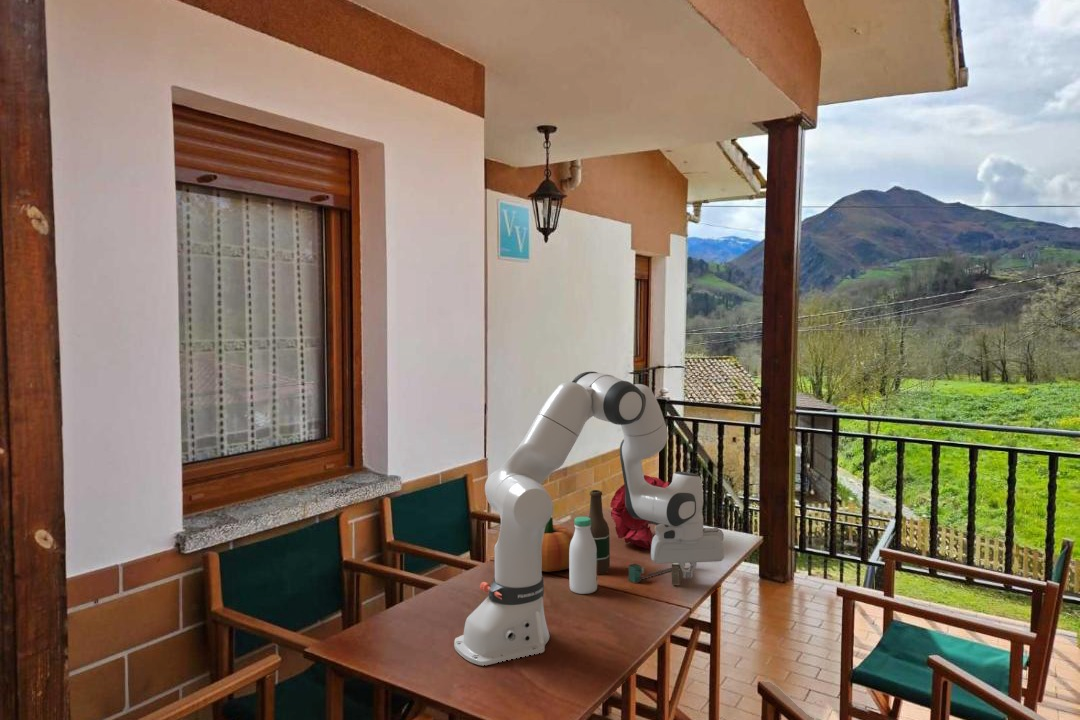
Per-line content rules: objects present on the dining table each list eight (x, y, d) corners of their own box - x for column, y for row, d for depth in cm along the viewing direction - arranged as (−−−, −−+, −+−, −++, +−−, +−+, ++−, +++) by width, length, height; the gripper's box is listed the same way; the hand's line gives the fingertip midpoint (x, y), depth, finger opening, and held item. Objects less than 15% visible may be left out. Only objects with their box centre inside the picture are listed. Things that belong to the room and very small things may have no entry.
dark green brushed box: (635, 583, 191) (635, 568, 191) (628, 580, 193) (628, 565, 193) (643, 580, 193) (643, 565, 193) (637, 578, 195) (637, 562, 195)
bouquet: (690, 559, 228) (620, 505, 242) (722, 506, 219) (648, 453, 232) (663, 585, 211) (589, 525, 224) (697, 528, 202) (618, 469, 215)
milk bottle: (595, 595, 183) (594, 523, 182) (567, 593, 185) (566, 521, 183) (598, 584, 191) (598, 515, 189) (571, 583, 192) (571, 513, 191)
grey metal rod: (639, 580, 193) (639, 579, 193) (637, 579, 194) (637, 577, 194) (674, 570, 201) (674, 568, 201) (671, 568, 202) (671, 567, 202)
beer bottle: (597, 577, 196) (596, 495, 195) (578, 570, 202) (577, 490, 201) (615, 570, 201) (614, 491, 200) (596, 563, 207) (595, 486, 206)
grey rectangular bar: (672, 568, 201) (672, 551, 201) (679, 569, 200) (679, 551, 200) (671, 584, 189) (671, 566, 188) (679, 585, 188) (679, 566, 188)
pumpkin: (535, 551, 220) (534, 505, 219) (589, 559, 211) (589, 512, 210) (506, 571, 202) (505, 522, 201) (565, 581, 194) (564, 529, 193)
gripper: (719, 524, 193) (719, 571, 194) (649, 526, 192) (649, 574, 193) (727, 530, 187) (727, 579, 188) (654, 533, 185) (654, 582, 186)
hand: (687, 577), depth 190 cm, fingers closed
